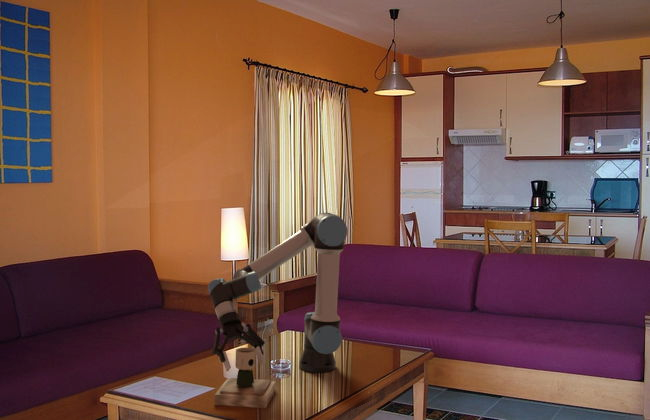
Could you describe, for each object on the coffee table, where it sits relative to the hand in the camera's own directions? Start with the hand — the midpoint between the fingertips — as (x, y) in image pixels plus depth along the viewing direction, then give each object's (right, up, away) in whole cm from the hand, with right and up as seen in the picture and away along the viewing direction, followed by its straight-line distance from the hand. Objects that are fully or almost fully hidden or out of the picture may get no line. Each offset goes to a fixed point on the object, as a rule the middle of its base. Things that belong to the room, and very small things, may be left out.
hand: (246, 366), depth 239 cm
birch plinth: (0, -11, +1) cm, 11 cm away
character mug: (0, -7, 0) cm, 7 cm away
